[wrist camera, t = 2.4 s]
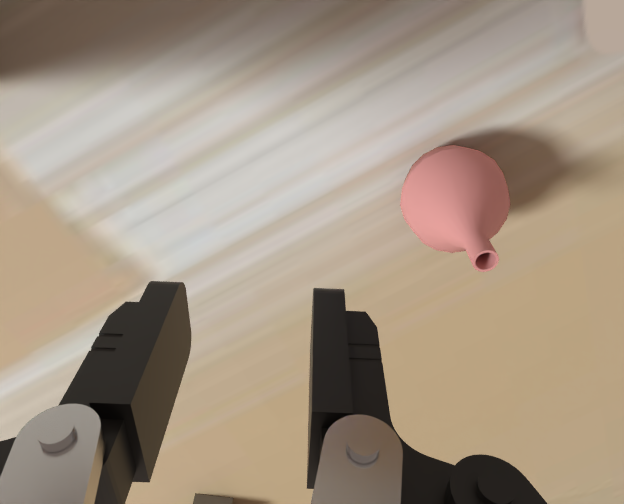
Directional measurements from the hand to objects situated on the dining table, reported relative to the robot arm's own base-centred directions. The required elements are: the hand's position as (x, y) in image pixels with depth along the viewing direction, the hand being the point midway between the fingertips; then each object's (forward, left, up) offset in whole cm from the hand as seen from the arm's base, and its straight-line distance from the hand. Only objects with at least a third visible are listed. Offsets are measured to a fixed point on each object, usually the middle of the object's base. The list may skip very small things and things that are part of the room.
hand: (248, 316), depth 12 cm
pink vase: (+12, -8, -27) cm, 31 cm away
